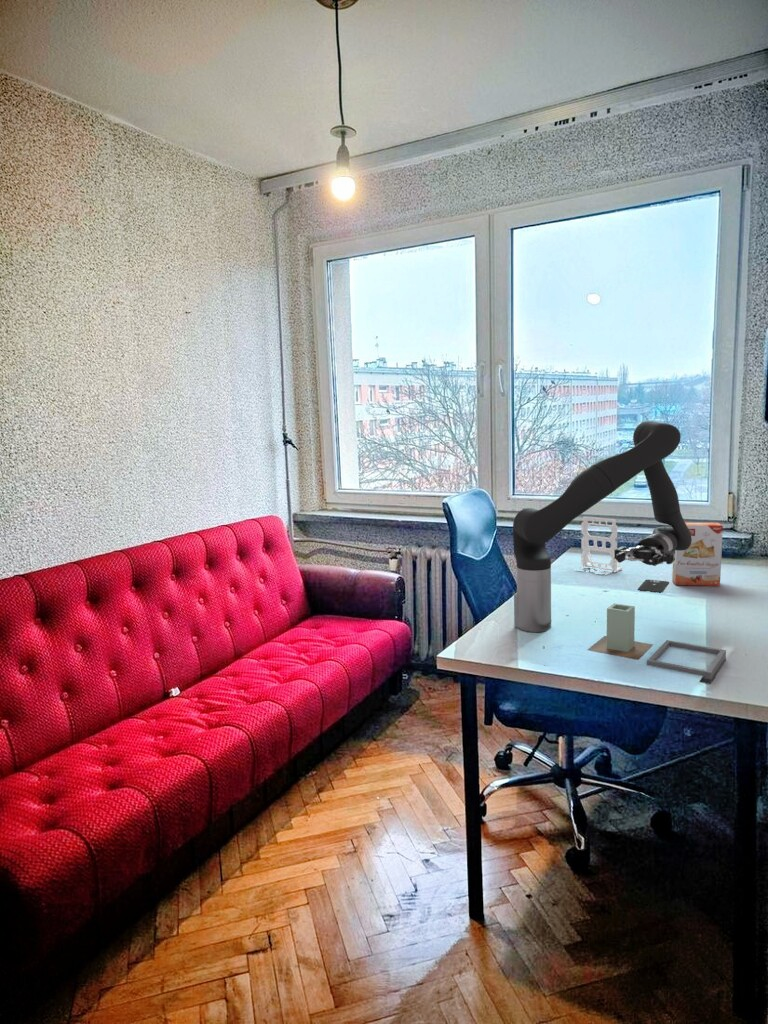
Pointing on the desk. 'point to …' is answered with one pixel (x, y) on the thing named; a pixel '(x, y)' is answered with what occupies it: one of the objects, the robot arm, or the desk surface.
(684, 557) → the cracker box
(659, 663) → the grey tray
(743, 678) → the desk surface
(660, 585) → the smartphone
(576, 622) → the desk surface
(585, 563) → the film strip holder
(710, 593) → the desk surface
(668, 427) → the robot arm
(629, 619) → the sleeve
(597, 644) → the board
